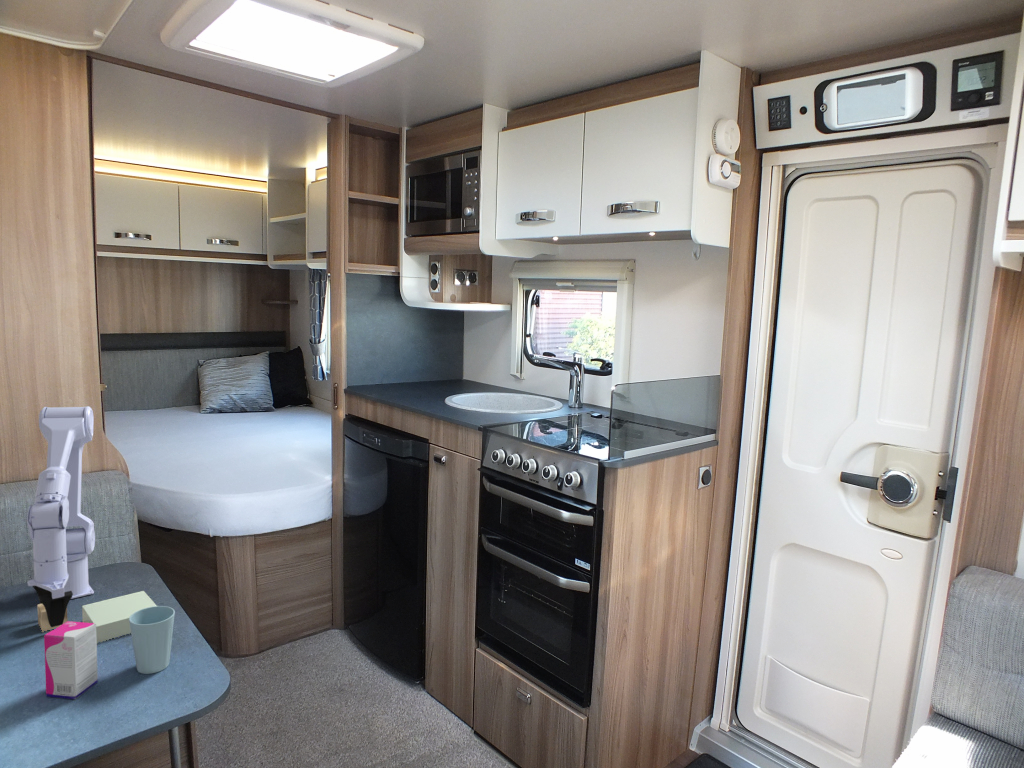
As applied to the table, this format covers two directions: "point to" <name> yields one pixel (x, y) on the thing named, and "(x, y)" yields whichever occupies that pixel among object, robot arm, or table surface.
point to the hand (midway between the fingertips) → (52, 618)
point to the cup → (152, 637)
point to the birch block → (46, 618)
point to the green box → (115, 614)
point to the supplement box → (70, 659)
